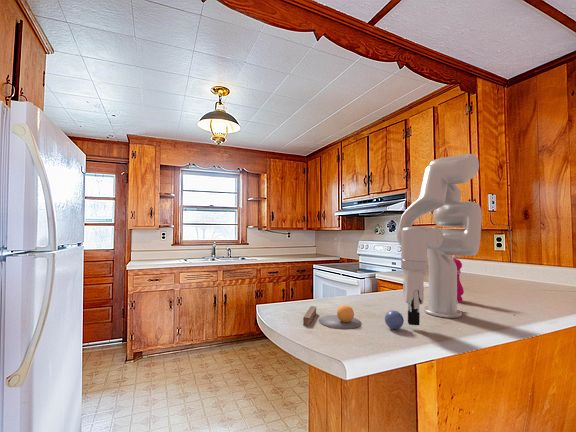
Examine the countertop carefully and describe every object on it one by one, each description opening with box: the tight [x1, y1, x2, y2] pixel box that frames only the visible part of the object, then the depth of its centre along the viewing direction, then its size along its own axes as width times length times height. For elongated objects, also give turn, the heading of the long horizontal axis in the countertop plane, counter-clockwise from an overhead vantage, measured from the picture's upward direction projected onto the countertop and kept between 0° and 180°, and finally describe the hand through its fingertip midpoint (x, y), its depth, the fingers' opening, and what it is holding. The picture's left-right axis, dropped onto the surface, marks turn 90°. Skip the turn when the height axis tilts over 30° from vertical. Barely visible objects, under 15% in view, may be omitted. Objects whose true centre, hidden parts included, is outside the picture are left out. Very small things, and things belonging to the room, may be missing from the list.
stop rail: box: [302, 305, 317, 327], centre depth 102 cm, size 2×14×2 cm, turn 166°
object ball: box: [336, 304, 355, 323], centre depth 99 cm, size 6×6×6 cm
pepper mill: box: [451, 255, 465, 303], centre depth 132 cm, size 7×7×20 cm
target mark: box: [318, 314, 362, 330], centre depth 99 cm, size 14×14×1 cm
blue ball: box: [384, 310, 404, 330], centre depth 94 cm, size 6×6×6 cm
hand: (413, 324), depth 94 cm, fingers closed
